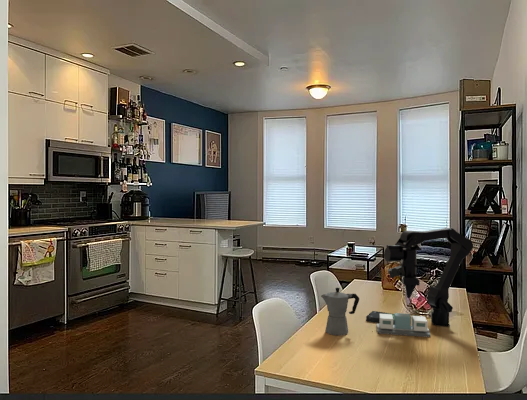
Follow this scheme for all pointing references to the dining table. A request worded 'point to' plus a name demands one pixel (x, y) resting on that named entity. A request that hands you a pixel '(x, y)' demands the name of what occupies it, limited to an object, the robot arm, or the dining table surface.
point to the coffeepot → (338, 311)
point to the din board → (416, 329)
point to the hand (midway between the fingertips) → (408, 297)
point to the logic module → (402, 321)
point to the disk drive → (377, 316)
